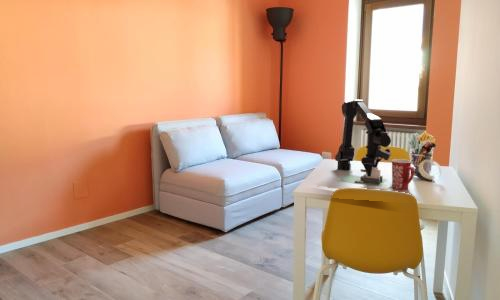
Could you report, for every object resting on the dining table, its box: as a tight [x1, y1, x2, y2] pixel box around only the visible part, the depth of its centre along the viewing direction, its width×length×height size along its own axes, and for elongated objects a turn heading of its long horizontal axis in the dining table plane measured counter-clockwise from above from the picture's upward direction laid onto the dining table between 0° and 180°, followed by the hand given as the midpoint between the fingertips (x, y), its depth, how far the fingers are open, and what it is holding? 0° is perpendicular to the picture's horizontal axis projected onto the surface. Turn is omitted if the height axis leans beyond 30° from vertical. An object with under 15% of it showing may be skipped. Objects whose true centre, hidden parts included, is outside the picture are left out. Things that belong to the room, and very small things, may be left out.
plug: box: [360, 166, 382, 179], centre depth 204 cm, size 10×4×7 cm, turn 58°
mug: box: [391, 158, 415, 191], centre depth 195 cm, size 13×9×14 cm
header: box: [360, 173, 384, 184], centre depth 204 cm, size 9×8×2 cm
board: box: [337, 174, 388, 188], centre depth 206 cm, size 21×16×2 cm
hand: (371, 174), depth 203 cm, fingers open, 9 cm apart
